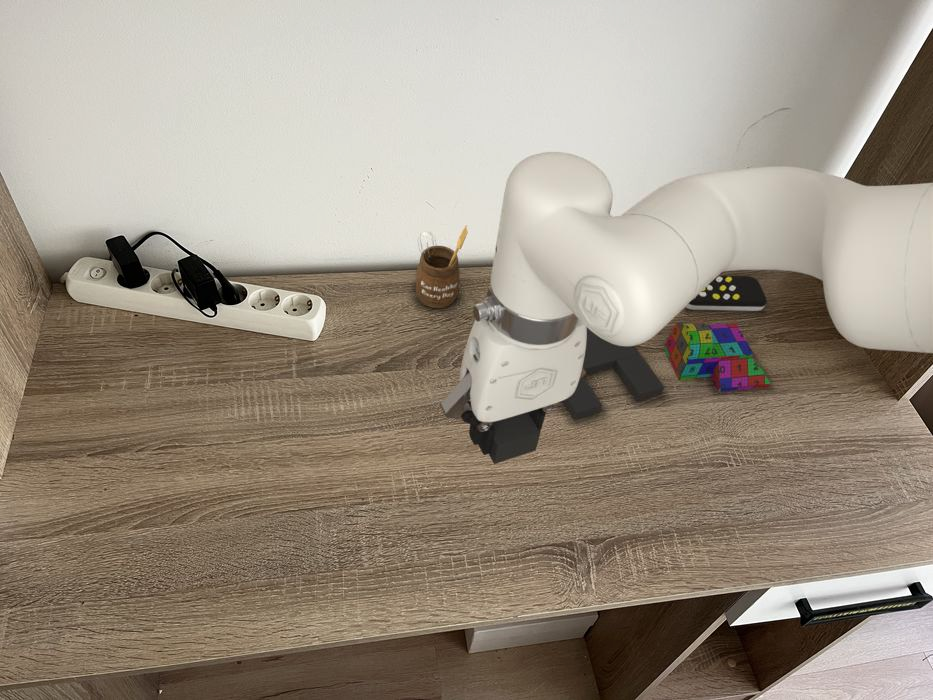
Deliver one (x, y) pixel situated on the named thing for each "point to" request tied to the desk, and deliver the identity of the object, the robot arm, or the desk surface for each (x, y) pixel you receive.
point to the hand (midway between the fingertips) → (504, 434)
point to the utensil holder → (438, 274)
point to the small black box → (514, 437)
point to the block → (714, 355)
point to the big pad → (625, 364)
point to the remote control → (730, 295)
